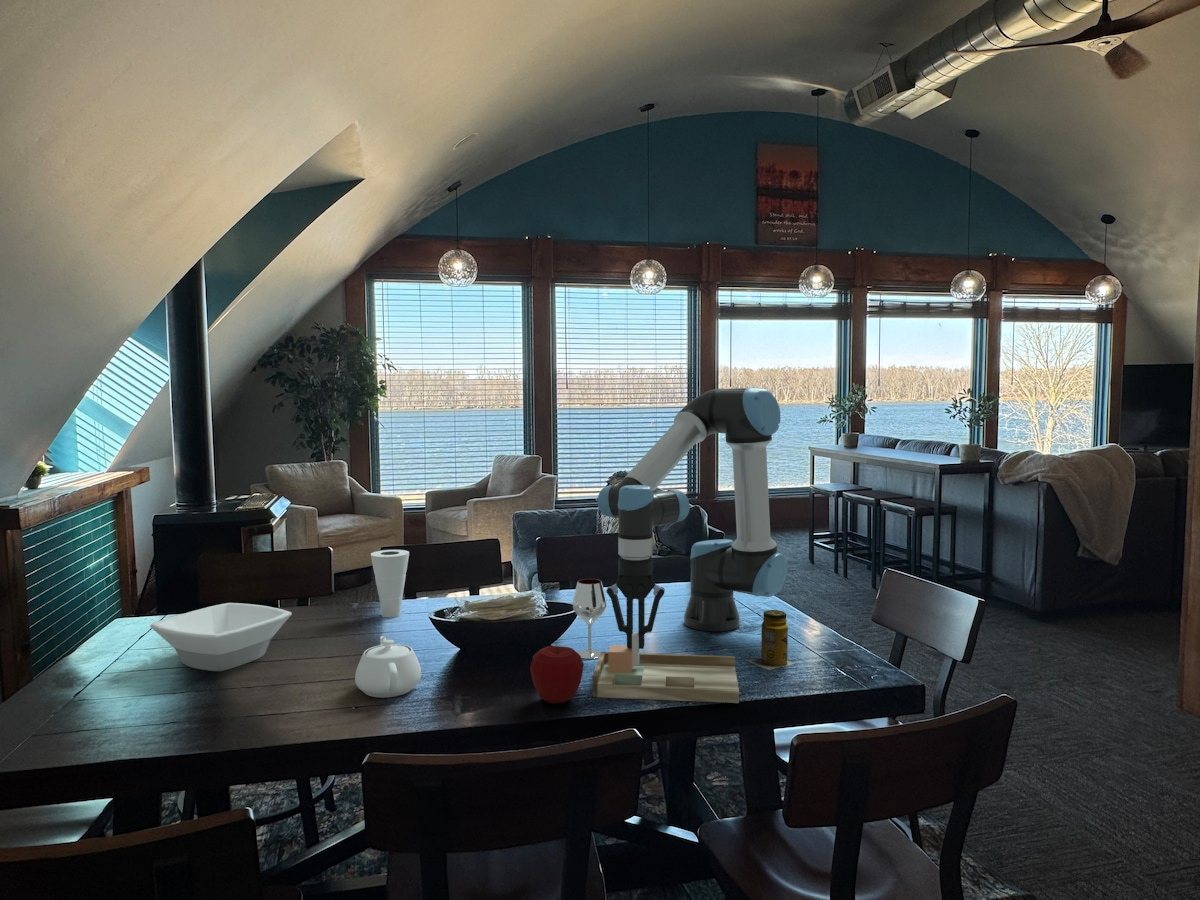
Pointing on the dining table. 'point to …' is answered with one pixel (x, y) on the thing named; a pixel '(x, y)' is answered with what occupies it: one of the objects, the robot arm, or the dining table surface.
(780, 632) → the condiment
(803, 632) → the dining table surface
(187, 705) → the dining table surface
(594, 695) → the tray
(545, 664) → the apple
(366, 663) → the teapot
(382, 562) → the cup
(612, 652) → the block
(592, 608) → the wineglass
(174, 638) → the bowl
